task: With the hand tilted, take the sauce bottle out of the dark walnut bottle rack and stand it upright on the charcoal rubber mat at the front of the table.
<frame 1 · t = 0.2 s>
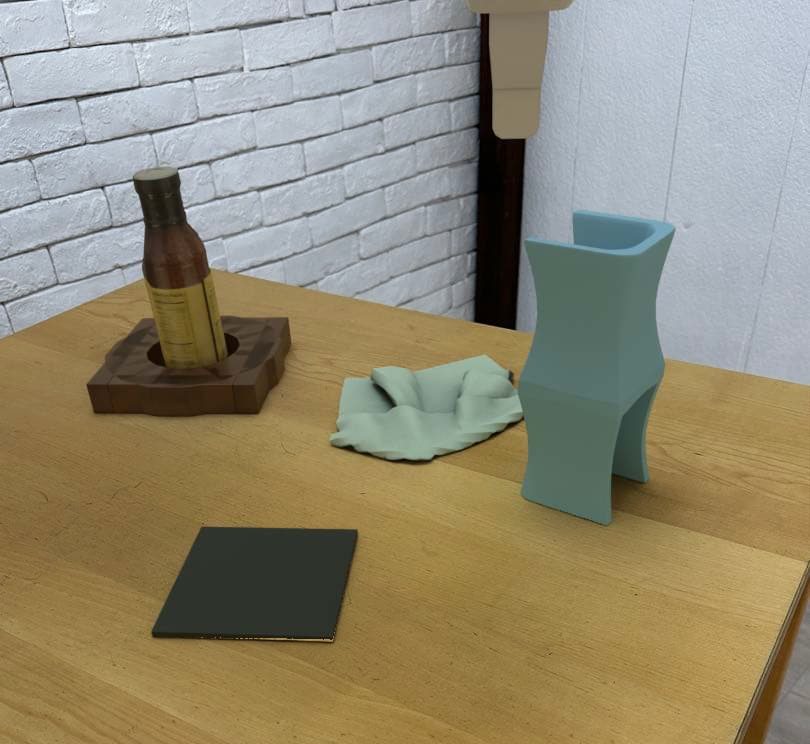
hand: (514, 110, 40), 31 cm above the table, tool pointing down, fingers open, 8 cm apart
sauce bottle: (199, 378, 92), resting in bottle rack
cloth: (442, 406, 84), on the table
bottle rack: (198, 376, 91), on the table
mat: (262, 582, 63), on the table
teal waisted open shell: (582, 489, 72), on the table
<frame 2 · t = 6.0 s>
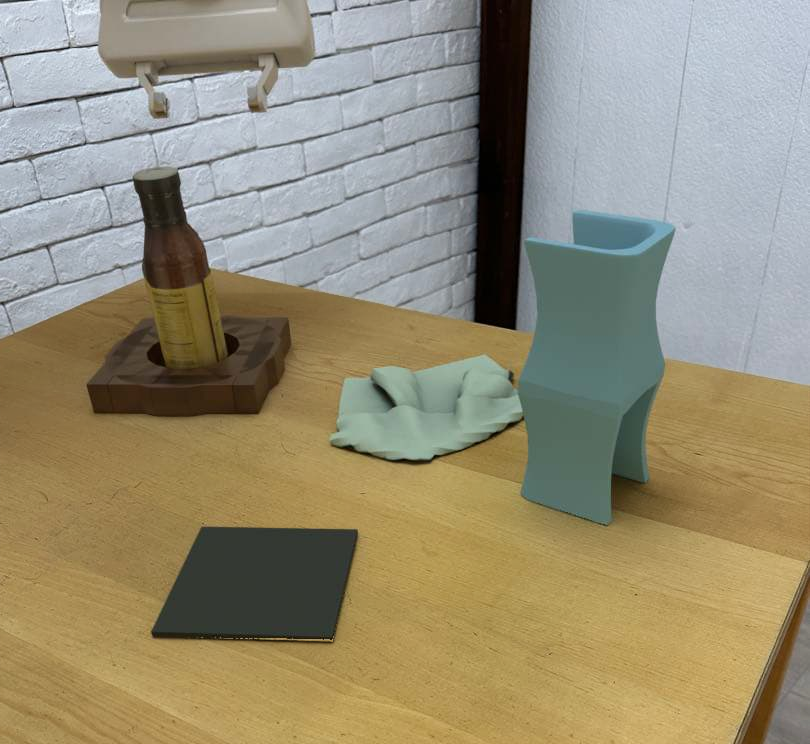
hand: (208, 112, 85), 23 cm above the table, tool tilted 40°, fingers open, 8 cm apart
nothing on the table moved.
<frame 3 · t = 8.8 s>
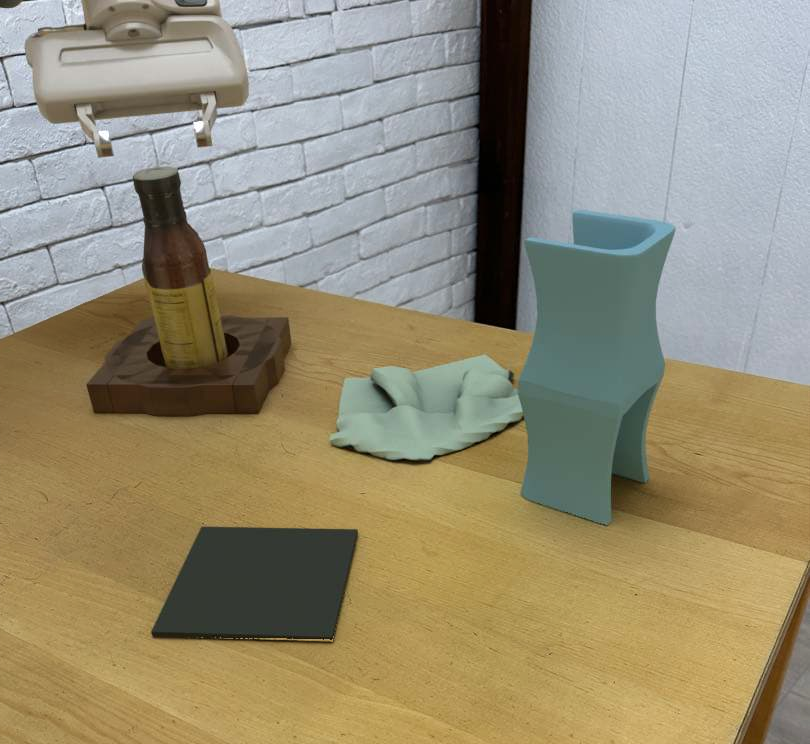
hand: (155, 148, 87), 20 cm above the table, tool tilted 45°, fingers open, 8 cm apart
nothing on the table moved.
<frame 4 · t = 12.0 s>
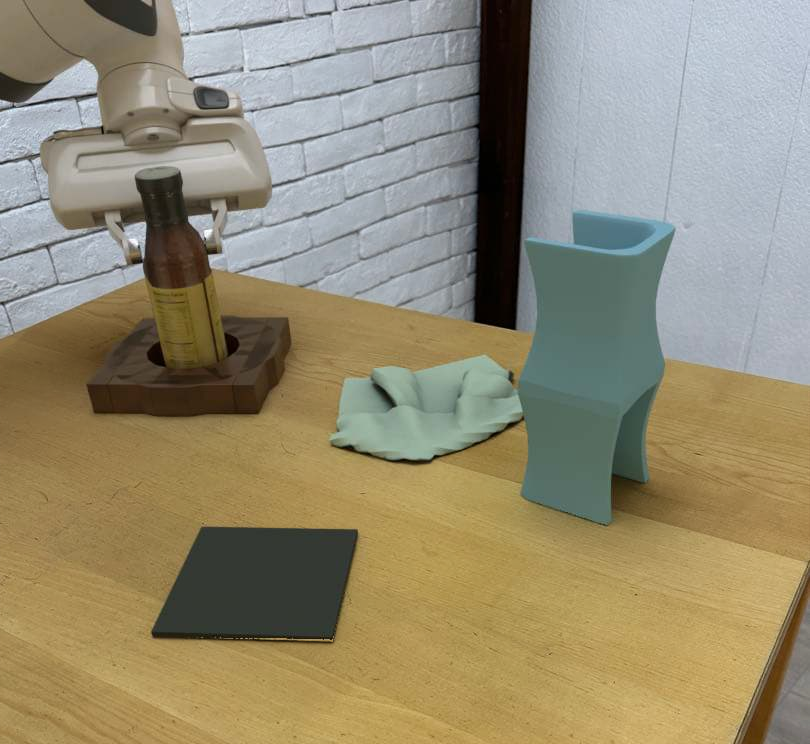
hand: (175, 256, 84), 12 cm above the table, tool tilted 45°, fingers closed on sauce bottle, 6 cm apart
sauce bottle: (198, 377, 92), resting in bottle rack, touching gripper
everything else where it was.
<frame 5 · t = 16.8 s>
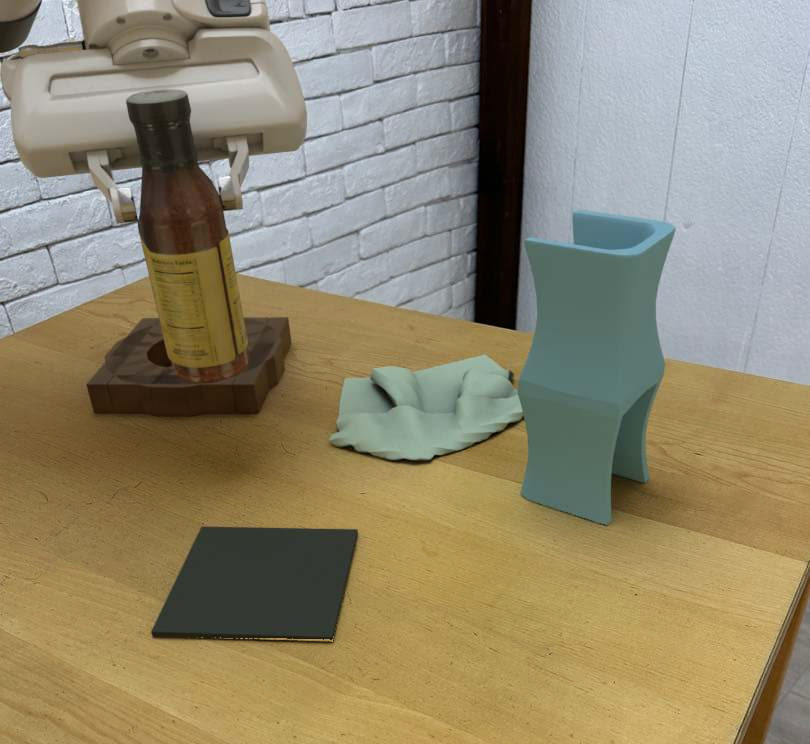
hand: (180, 212, 63), 21 cm above the table, tool tilted 45°, fingers closed on sauce bottle, 6 cm apart
sauce bottle: (210, 373, 71), point 9 cm above the table, touching gripper
everything else where it was.
when the fingers open (13 cm above the table, at t = 21.8 s): sauce bottle stays where it is, resting on mat.
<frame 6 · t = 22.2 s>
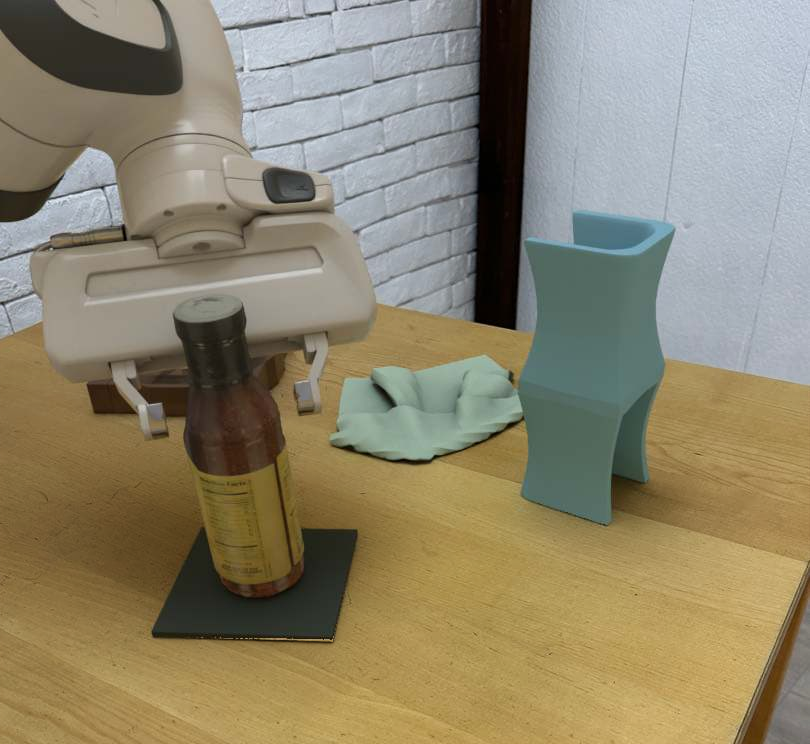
hand: (234, 424, 55), 13 cm above the table, tool tilted 45°, fingers open, 8 cm apart
sauce bottle: (261, 578, 63), resting on mat
everything else where it was.
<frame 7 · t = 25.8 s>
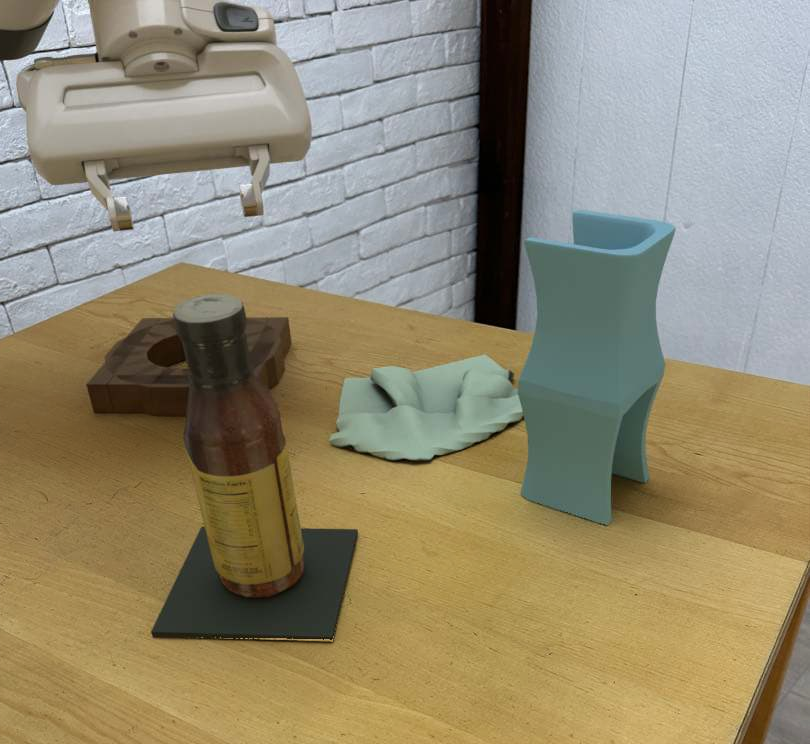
hand: (188, 219, 66), 20 cm above the table, tool tilted 45°, fingers open, 8 cm apart
nothing on the table moved.
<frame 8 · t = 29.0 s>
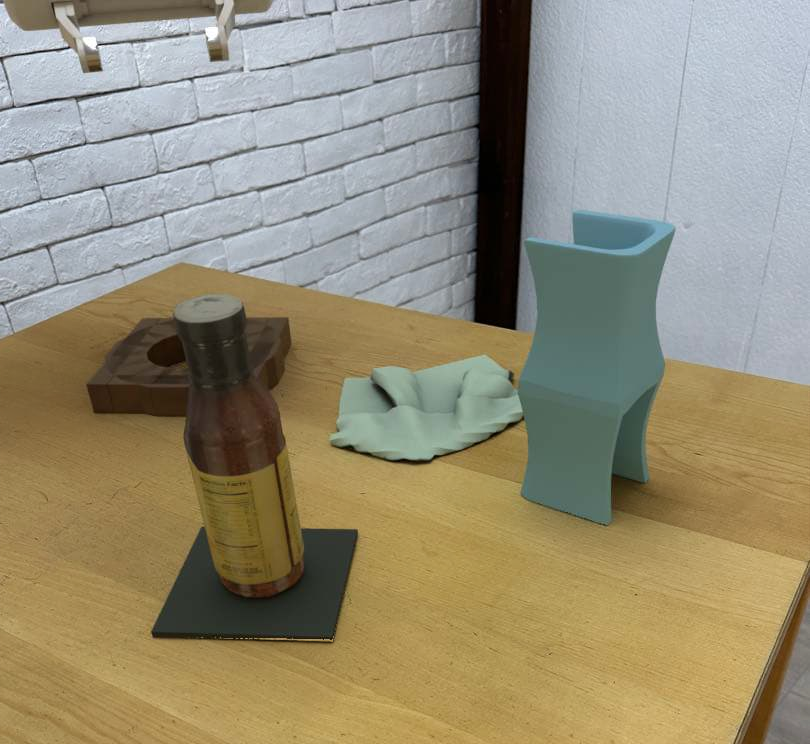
hand: (156, 61, 68), 29 cm above the table, tool tilted 45°, fingers open, 8 cm apart
nothing on the table moved.
at the end: sauce bottle inside the target area on the mat (0.0 cm from its centre), point 0.3 cm above the mat's base; sauce bottle tilted 0°; the gripper is holding nothing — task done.
